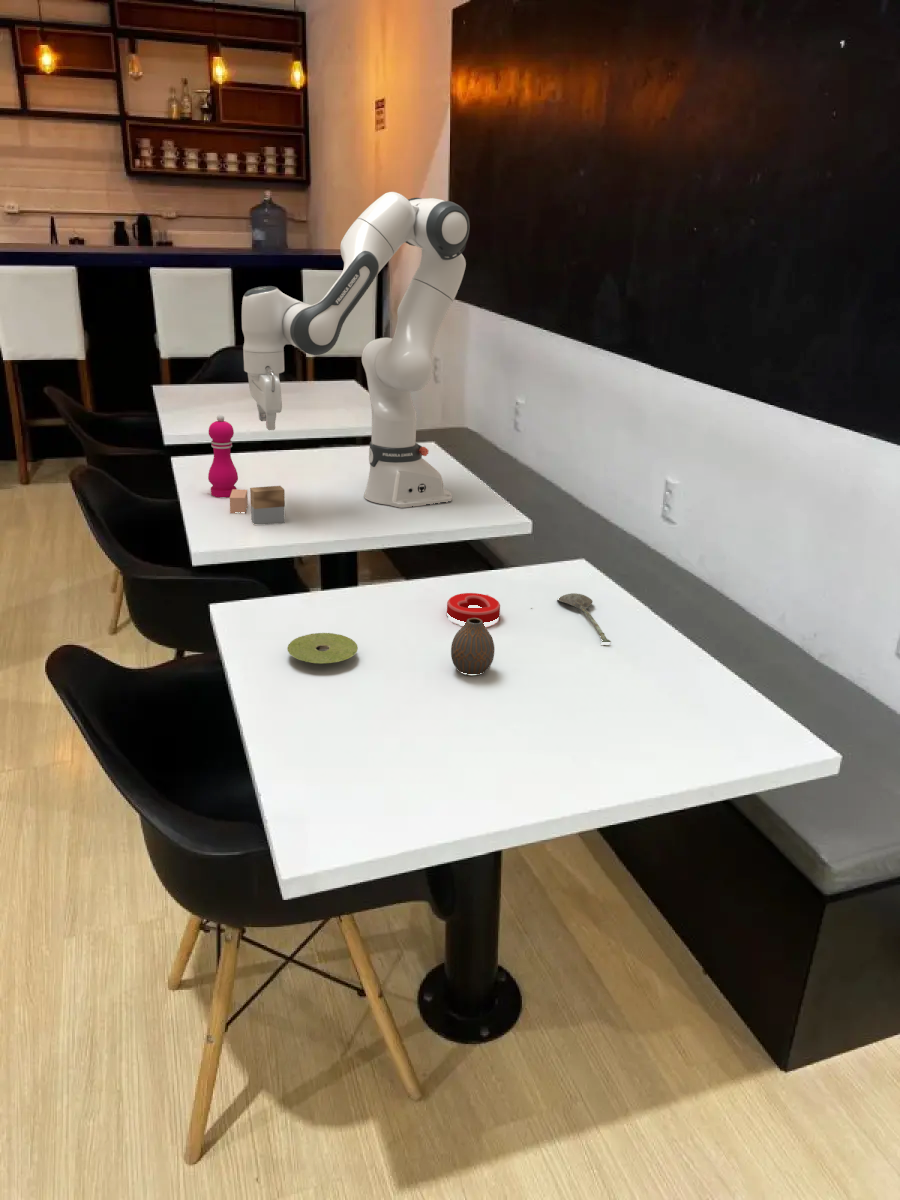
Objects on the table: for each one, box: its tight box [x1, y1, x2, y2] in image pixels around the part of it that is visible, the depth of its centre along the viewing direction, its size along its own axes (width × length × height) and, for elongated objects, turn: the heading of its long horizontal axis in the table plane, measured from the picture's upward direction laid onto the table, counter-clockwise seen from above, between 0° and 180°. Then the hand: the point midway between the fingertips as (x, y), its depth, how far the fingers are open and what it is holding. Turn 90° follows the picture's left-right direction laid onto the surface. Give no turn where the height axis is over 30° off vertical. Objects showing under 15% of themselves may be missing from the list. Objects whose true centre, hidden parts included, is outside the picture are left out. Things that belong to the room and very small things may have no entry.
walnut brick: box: [249, 485, 286, 509], centre depth 209 cm, size 7×4×4 cm, turn 115°
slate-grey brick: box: [250, 505, 286, 525], centre depth 211 cm, size 7×4×4 cm, turn 111°
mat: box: [286, 632, 359, 664], centre depth 148 cm, size 11×11×2 cm
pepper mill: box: [207, 414, 239, 498], centre depth 226 cm, size 7×7×20 cm
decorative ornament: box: [446, 592, 501, 623], centre depth 166 cm, size 10×10×3 cm
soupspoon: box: [558, 592, 612, 643], centre depth 168 cm, size 22×3×7 cm
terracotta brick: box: [229, 488, 249, 514], centre depth 218 cm, size 7×4×4 cm, turn 7°
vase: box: [450, 618, 495, 674], centre depth 145 cm, size 7×7×9 cm
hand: (266, 425), depth 209 cm, fingers open, 8 cm apart
